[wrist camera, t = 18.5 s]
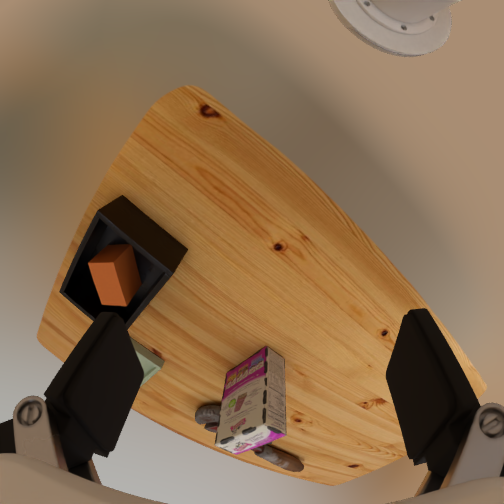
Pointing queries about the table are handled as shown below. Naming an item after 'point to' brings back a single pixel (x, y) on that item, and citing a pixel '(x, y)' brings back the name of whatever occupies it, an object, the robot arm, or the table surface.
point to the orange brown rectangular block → (115, 274)
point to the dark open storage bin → (145, 251)
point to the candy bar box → (253, 403)
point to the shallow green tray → (147, 361)
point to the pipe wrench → (264, 451)
